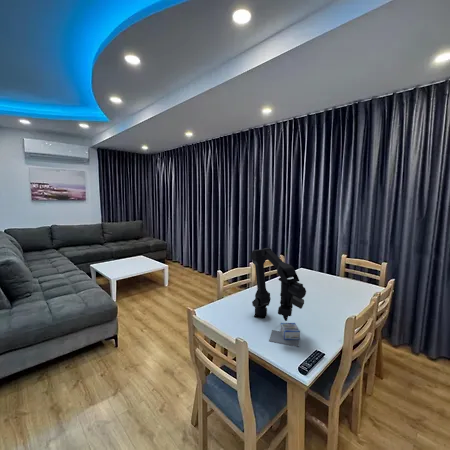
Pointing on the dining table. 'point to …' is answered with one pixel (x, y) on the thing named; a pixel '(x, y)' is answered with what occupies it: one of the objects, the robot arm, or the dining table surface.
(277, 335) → the mat
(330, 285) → the dining table surface
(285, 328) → the medicine box
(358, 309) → the dining table surface
